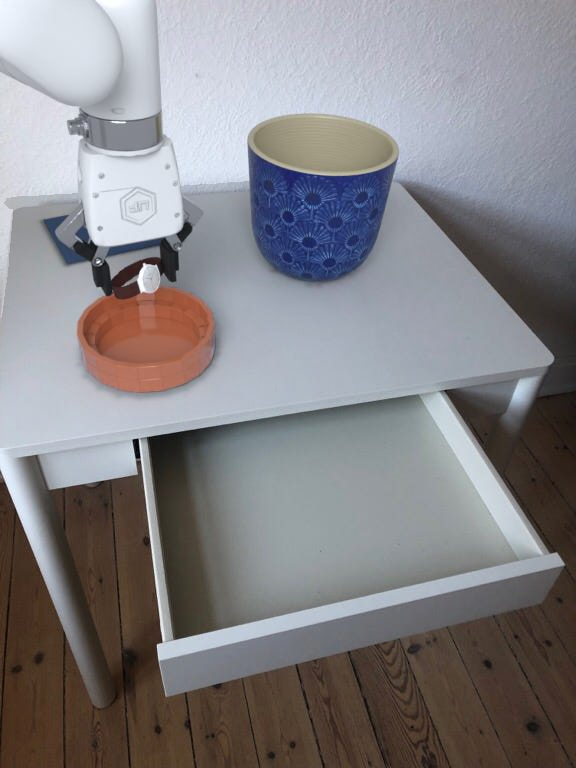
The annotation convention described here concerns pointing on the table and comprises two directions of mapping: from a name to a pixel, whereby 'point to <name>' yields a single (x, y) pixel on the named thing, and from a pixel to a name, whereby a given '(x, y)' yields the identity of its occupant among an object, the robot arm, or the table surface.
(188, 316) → the bowl
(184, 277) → the table surface
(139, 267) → the watch
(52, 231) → the mat
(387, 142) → the planter
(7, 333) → the table surface
